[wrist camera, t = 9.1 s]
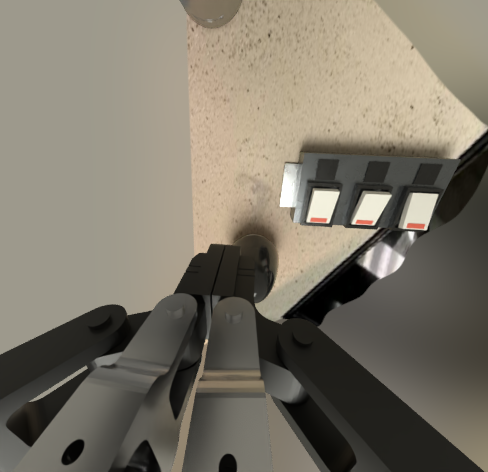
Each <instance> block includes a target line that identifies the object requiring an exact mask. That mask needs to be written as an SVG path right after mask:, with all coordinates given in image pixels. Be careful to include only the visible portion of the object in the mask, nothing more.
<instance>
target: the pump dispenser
mask: <svg viewBox="0 0 488 472" xmlns="http://www.w3.org/2000/svg"><path fill="white" fill-rule="evenodd" d="M233 245H241V255H244V256H251V257H252V259H253V260H254V262H255V281H254V303H259V302H261V301H263V300H264V299H265V298H266V297H267V296H268V295H269V293H270V292H271V290H272V288H273V286H274V283H275V280H276V277H277V272H278V265H279V256H278V251H277V248H276V247H275V245H274V244H273V243H272V242H271V241H270V240H269V239H267V238H265V237H263V236H261V235H257V234H250V235H246V236H243V237H242V238H240V239H238V240H237V241H236V242H235V243H234V244H233Z"/></svg>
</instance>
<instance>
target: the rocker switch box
mask: <svg viewBox="0 0 488 472" xmlns="http://www.w3.org/2000/svg"><path fill="white" fill-rule="evenodd" d="M459 162H460V159H450V158H437V157H413V156H390V155H366V154H343V153H319V152H300V156H299V162H298V164H292V163H285V166H284V174H283V182H282V190H281V198H280V206H281V207H292V208H291V214H290V216H291V219H292V221H293V223H300V225H306V226H324V227H332V225H343V226H344V227H345V228H360V229H377V228H378V227H384V228H388V229H390V230H396V231H414V232H423V231H424V230H416V229H402V228H399V227H398V226H399V223H400V220H401V216H402V213H403V209H404V206H405V203H406V200H407V198H408V196H409V193H429V194H438V197H437V200H436V203H435V206H434V209H433V212H432V215H433V213H434V211H435V209H436V207H437V205H438V203H439V201H440V199H441V197H442V195H443V194H444V192H445V190H446V188H447V186H448V184H449V182H450V180H451V178H452V176H453V174H454V172H455V170H456V168H457V166H458V164H459ZM313 188H322V189H338V190H339V191H340V193H339V196H338V199H337V202H336V205H335V208H334V210H333V213H332V216H331V219H330V222H329V223H313V222H306V220H305V218H306V214H307V211H308V207H309V203H310V199H311V195H312V191H313ZM363 191H377V192H389V193H390V194H391V195H392V196H391V197H390V199H389V201H388V203H387V204H386V206H385V208H384V210H383V211H382V213H381V215H380V216H379V218H378V220H377V222H376V223H375V225H357V224H351V223H350V221H351V217H352V214H353V212H354V210H355V208H356V206H357V203H358V201H359V199H360V197H361V195H362V193H363ZM432 215H431V217H432ZM430 219H431V218H430Z"/></svg>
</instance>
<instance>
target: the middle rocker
mask: <svg viewBox="0 0 488 472" xmlns="http://www.w3.org/2000/svg"><path fill="white" fill-rule="evenodd" d="M391 196H392V195H391V194H390V193H389V192H377V191H363V193H362V195H361V197H360V199H359V201H358V203H357V206H356V208H355V210H354V212H353V214H352V217H351V221H350V223H351V224H357V225H375V223H376V222H377V220H378V218H379V216H380V215H381V213H382V211H383V210H384V208H385V206H386V204H387V203H388V201H389V199H390V197H391Z"/></svg>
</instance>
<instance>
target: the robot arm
mask: <svg viewBox="0 0 488 472" xmlns="http://www.w3.org/2000/svg"><path fill="white" fill-rule="evenodd" d="M180 2H181V3H182V5H183V7H184V9H185V11H186V12H187V14H188V15H189V16H190V17H191V18H192V19H193V20H194V21H195V22H196V23H198V24H199V25H201V26H203V27H207V28H218V27H221V26H223V25H225V24H226V23H228V22H229V21H230V20H231V19H232V18H233V17H234V15H235V14H236V13H237V11H238V9H239V7H240V5H241V2H242V0H180ZM254 281H255V262H254V260H253V259H252V257H251V256H244V255H241V245H223V244H211V245H210V247H209V249H208V251H207V253H199V254H198V255H196V256H195V257H194V258H192V260H191V262H190V264H189V267H188V268H187V270H186V273H184V275H183V277H182V279H181V281H180V283H179V284H178V286H177V288H176V290H175V292H174V294H173V295H170V296H167V297H165V298H164V299H162V300H161V301H160V302H159V303H158V304H157V305H156V306H155V308H154V309H153V310H152V311H148V312H143V313H137V314H132V315H127V313H126V310H125V309H124V308H123V307H122V306H120V305H105V306H101V307H98V308H96V309H94V310H92V311H90V312H88V313H85V314H83V315H81V316H79V317H77V318H75V319H73V320H71V321H69V322H67V323H65V324H63V325H61V326H59V327H57V328H55V329H52V330H50V331H48V332H46V333H44V334H42V335H40V336H38V337H36V338H34V339H32V340H30V341H28V342H26V343H23V344H21V345H19V346H17V347H15V348H13V349H11V350H9V351H7V352H5V353H3V354H1V355H0V472H171V469H172V466H173V463H174V459H175V456H176V452H177V447H178V442H179V434H180V427H181V423H182V420H183V416H184V413H185V410H186V407H187V403H188V401H189V397H190V394H191V391H192V388H193V385H194V382H195V379H196V376H197V373H198V370H199V366H200V364H201V360H202V350H203V347H204V343H205V339H208V346H207V352H206V358H205V365H204V370H203V375H202V377H201V378H200V379H199V382H198V385H197V389H196V394H195V399H194V406H193V411H192V416H191V422H190V428H189V434H188V439H187V445H186V451H185V457H184V463H183V468H182V472H273V465H272V455H271V445H270V435H269V425H268V416H267V406H266V395H265V392H266V393H268V394H270V395H271V397H272V399H273V401H274V403H275V404H276V406H277V407H278V409H279V410H280V412H281V413H282V415H283V416H284V418H285V419H286V421H287V422H288V424H289V425H290V427H291V428H292V430H293V431H294V432H295V434H296V436H297V437H298V439H299V440H300V442H301V443H302V444H303V446H304V447H305V449H306V450H307V452H308V453H309V455H310V456H311V458H312V459H313V461H314V462H315V464H316V465H317V467H318V468H319V470H320V471H321V472H484V471H483V470H482V469H481V468H480V467H478V466H477V465H476V464H475V463H474V462H472V461H471V460H470V459H469V458H468V457H467V456H466V455H464V454H463V453H462V452H461V451H460V450H459V449H458V448H456V447H455V446H454V445H453V444H452V443H451V442H449V441H448V440H447V439H446V438H445V437H444V436H442V435H441V434H440V433H439V432H438V431H437V430H436V429H434V428H433V427H432V426H431V425H430V424H429V423H427V422H426V421H425V420H424V419H423V418H422V417H421V416H419V415H418V414H417V413H416V412H415V411H414V410H412V409H411V408H410V407H409V406H408V405H407V404H406V403H404V402H403V401H402V400H401V399H400V398H399V397H397V396H396V395H395V394H394V393H393V392H392V391H391V390H389V389H388V388H387V387H386V386H385V385H384V384H382V383H381V382H380V381H379V380H378V379H377V378H375V377H374V376H373V375H372V374H371V373H370V372H369V371H367V370H366V369H365V368H364V367H363V366H362V365H360V364H359V363H358V362H357V361H356V360H355V359H354V358H352V357H351V356H350V355H349V354H348V353H347V352H345V351H344V350H343V349H342V348H341V347H340V346H339V345H337V344H336V343H335V342H334V341H333V340H332V339H330V338H329V337H328V336H327V335H326V334H324V333H323V332H322V331H321V330H320V329H319V328H318V327H316V326H315V325H314V324H312V323H311V322H309V321H306V320H303V319H296V318H294V319H289V320H287V321H285V322H284V323H282V325H281V324H279V323H276V322H273V321H271V320H268V319H267V318H265V317H263V316H262V315H261V314H260V313H259V312H258V311H257V309H256V307H255V304H254ZM85 365H86V366H87V367H88V369H87V370H85V371H83V372H82V373H80V374H79V375H77V376H76V377H74V378H73V379H71V380H70V381H68V382H66V383H65V384H63V385H62V386H60V387H59V388H57V389H56V390H54V391H53V392H51V393H50V394H48V395H46V396H45V397H43V398H41V399H39V400H37V401H33V402H29V401H30V400H32V399H34V398H35V397H37V396H38V395H40V394H41V393H43V392H44V391H46V390H48V389H49V388H51V387H52V386H54V385H55V384H57V383H59V382H60V381H62V380H63V379H65V378H67V377H68V376H70V375H71V374H73V373H74V372H76V371H78V370H79V369H81V368H82V367H84V366H85Z"/></svg>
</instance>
